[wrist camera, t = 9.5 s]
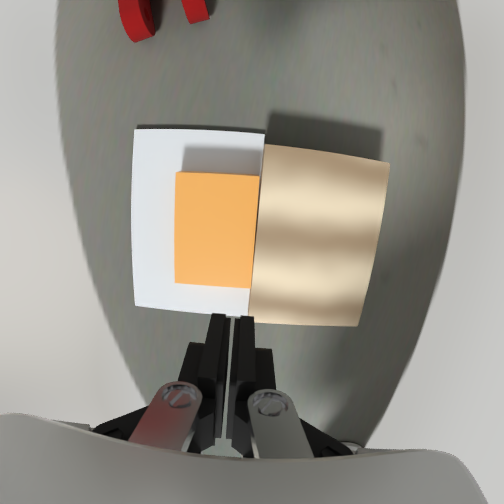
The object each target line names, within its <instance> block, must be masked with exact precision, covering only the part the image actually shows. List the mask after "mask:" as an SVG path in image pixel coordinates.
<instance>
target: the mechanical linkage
mask: <svg viewBox="0 0 504 504" xmlns="http://www.w3.org/2000/svg"><path fill="white" fill-rule="evenodd" d="M181 1H182V4H183V7H184V10H185V13H186V16H187V19H188V21H189V23H190V24H193V23H197V22H200V21H204V20H208V19H210V18H209V14H208V10H207V7H206V3H205V0H181ZM118 4H119V12H120V17H121V21H122V24H123V26H124V29H125V31H126V33H127V35H128V36H129V38H130V39H131V40H132V41H133V42H135V43H136V42H138V41H141V40H144V39H146V38H149V37H152V36H154V35H155V27H154V22H153V16H152V11H151V6H150V0H118Z"/></svg>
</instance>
